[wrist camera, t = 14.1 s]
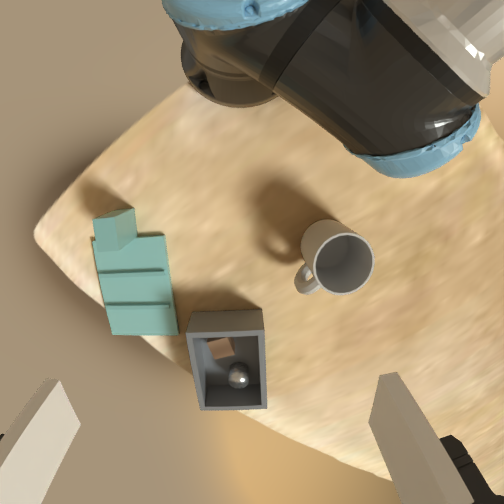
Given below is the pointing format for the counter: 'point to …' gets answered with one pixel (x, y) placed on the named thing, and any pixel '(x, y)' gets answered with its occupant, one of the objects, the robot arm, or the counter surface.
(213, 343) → the part block
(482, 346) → the counter surface
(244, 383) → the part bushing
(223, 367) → the tub
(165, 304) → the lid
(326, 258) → the cup
